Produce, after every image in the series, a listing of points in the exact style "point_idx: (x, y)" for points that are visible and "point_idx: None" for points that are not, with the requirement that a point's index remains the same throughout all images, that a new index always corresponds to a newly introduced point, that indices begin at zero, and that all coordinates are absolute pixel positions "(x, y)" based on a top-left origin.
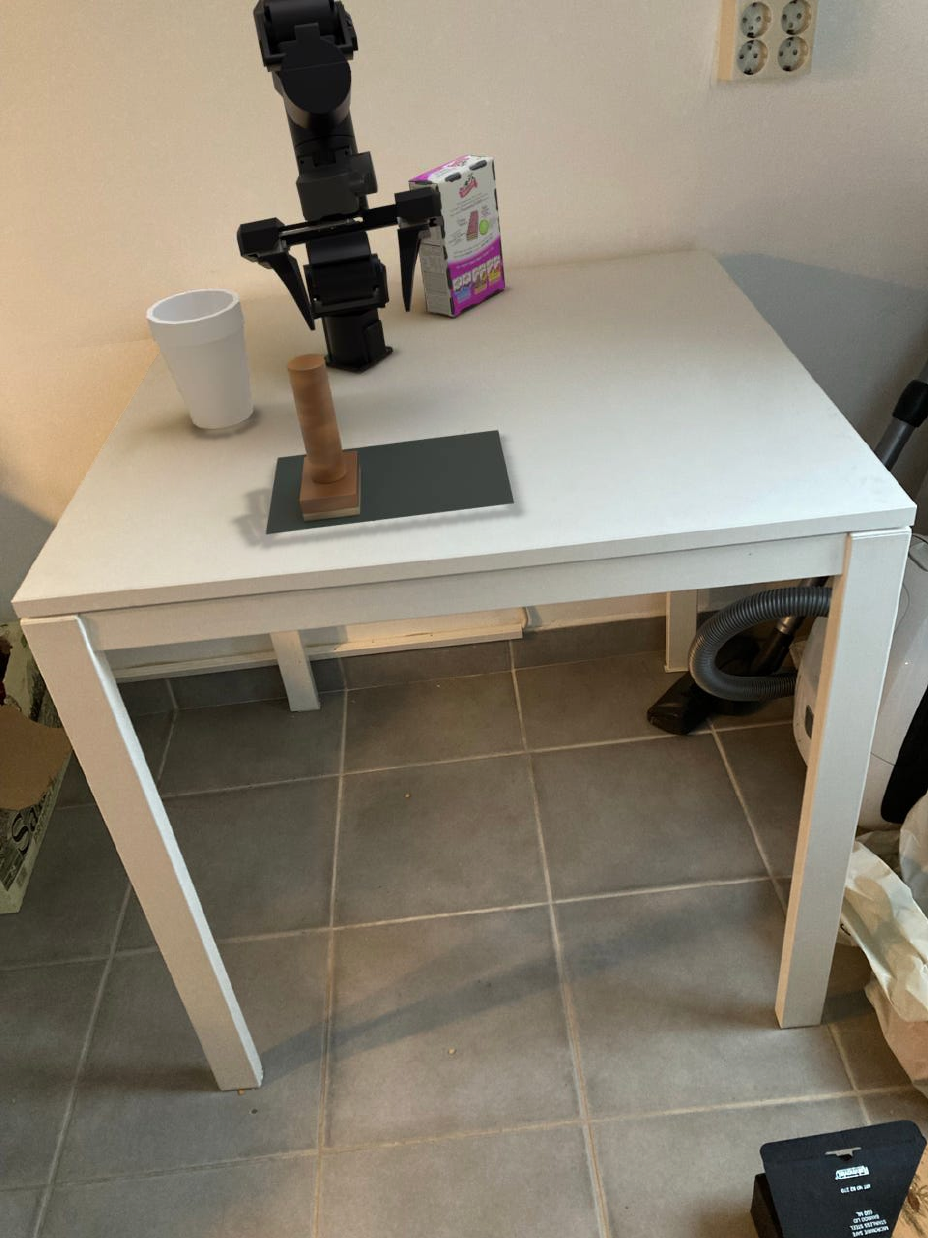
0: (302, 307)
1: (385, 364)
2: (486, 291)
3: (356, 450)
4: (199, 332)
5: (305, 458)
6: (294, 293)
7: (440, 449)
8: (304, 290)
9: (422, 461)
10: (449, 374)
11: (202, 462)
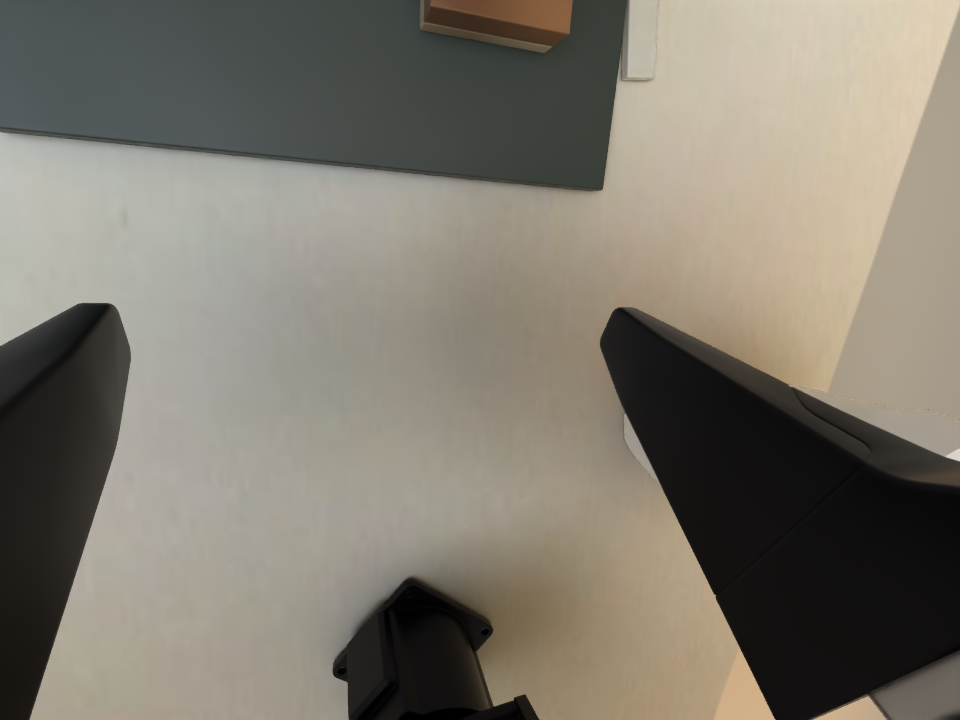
0: (707, 352)
1: (351, 611)
2: None
3: (431, 3)
4: (923, 426)
5: (567, 21)
6: (788, 389)
7: (184, 61)
8: (707, 480)
9: (241, 6)
10: (184, 546)
11: (721, 263)
